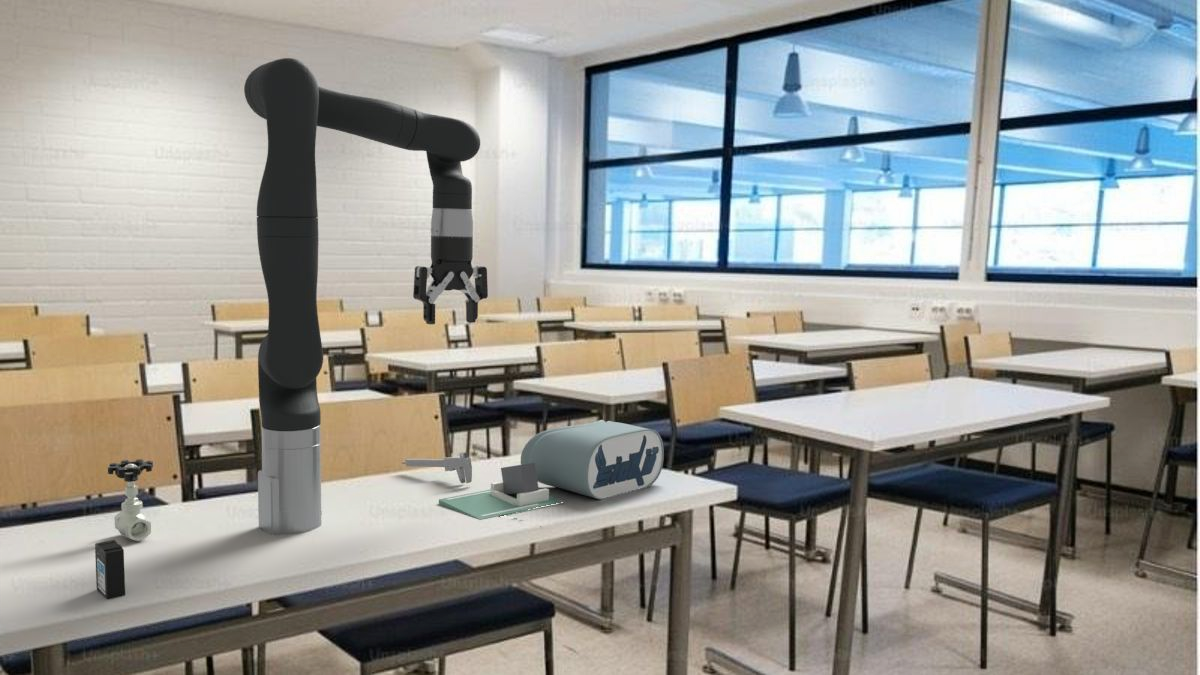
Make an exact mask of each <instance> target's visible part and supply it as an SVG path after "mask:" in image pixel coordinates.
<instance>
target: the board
mask: <svg viewBox="0 0 1200 675" xmlns="http://www.w3.org/2000/svg"><path fill="white" fill-rule="evenodd" d="M561 502H564V500H561V499H559V498H556V497H553V496H551V495H550V489H549V488H540V489H539V490H535V491H529V492H524V493H515V494H505V493H504V486H503V480H502V481H501V480H499V481H496V482H495V481H494V482H491V483H490V489H486V490H481V491H476V492H470V493H465V494H460V495H454V496H449V497H444V498H439V499H438V505H441V506H443V507H445V508H448V509H451V510H453V511H456V512H459V513H461V514H464V515H467V516H468V517H471V518H475V519H477V520H479V521H482V520H487V519H491V518H497V517H498V518H501V517H500V516H504V515H508V514H510V515H513V514H512V513H515V514H517V513H516V512H520V513H522V512H521V511H525V510H528V509H533V508H536V507H541V506H546V505H551V504H556V503H561ZM564 503H565V502H564ZM525 512H526V511H525Z"/></svg>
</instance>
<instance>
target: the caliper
mask: <svg viewBox="0 0 1200 675" xmlns="http://www.w3.org/2000/svg"><path fill="white" fill-rule="evenodd" d="M401 464H402V465H405V466H406V467H407V468H408V467H411V468H412V467H413V468H415V467H416V468H417V467H419V468H420V467H423V468H427V467H428V468H430V467H431V468H444V471H445V472H452V471H453V472H454V471H456V473H457V474H456V475H457V476H458V480H459V482H460V484H465V483H466V484H469V483H471V482H472V481H473V479H472V478H473V466H472V459H471V457H469V452H468V451H466V452H464V451H462V452H459V456H456V457H455V456H448V457H447V456H446V457H444V458H443V459H441V458H439V459H438V458H437V459H436V458H407V459H405V460H404V461H402V462H401Z"/></svg>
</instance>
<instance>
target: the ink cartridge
mask: <svg viewBox="0 0 1200 675" xmlns="http://www.w3.org/2000/svg"><path fill="white" fill-rule="evenodd" d="M94 546H95V547H94V550H95V551H94V554H95V573H96V574H95V578H96V581H95V582H96V591H97V592H98V593H100V594H101V595H102V596H103V598H105V599H106V600H110V599H114V598H119V597H124V596H126V582H125V579H126V577H125V574H126V573H125V550H124V548H123V547H122V545H121V544H119V543H118V542H117V541H116V540H115V539H112V540H111V539H110V540H107V541H101V542H96V543H95V544H94Z"/></svg>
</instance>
